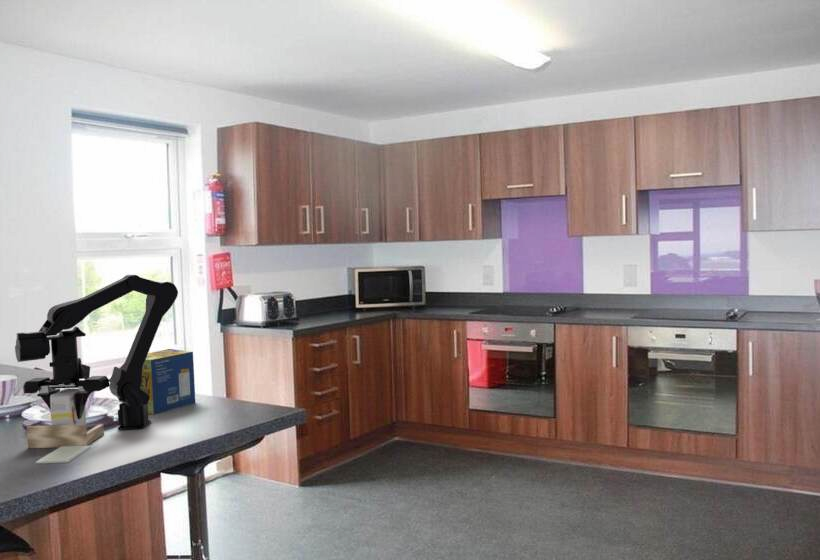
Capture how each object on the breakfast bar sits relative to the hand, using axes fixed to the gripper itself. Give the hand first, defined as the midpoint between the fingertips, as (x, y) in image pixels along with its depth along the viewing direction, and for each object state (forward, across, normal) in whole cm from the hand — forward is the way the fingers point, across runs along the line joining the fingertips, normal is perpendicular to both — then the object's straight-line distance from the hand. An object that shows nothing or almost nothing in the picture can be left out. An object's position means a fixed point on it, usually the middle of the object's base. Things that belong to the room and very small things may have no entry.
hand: (69, 419), depth 173 cm
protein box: (+5, -12, -31) cm, 34 cm away
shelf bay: (+5, 0, +2) cm, 5 cm away
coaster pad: (+5, -5, +13) cm, 15 cm away
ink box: (+5, 0, 0) cm, 5 cm away
